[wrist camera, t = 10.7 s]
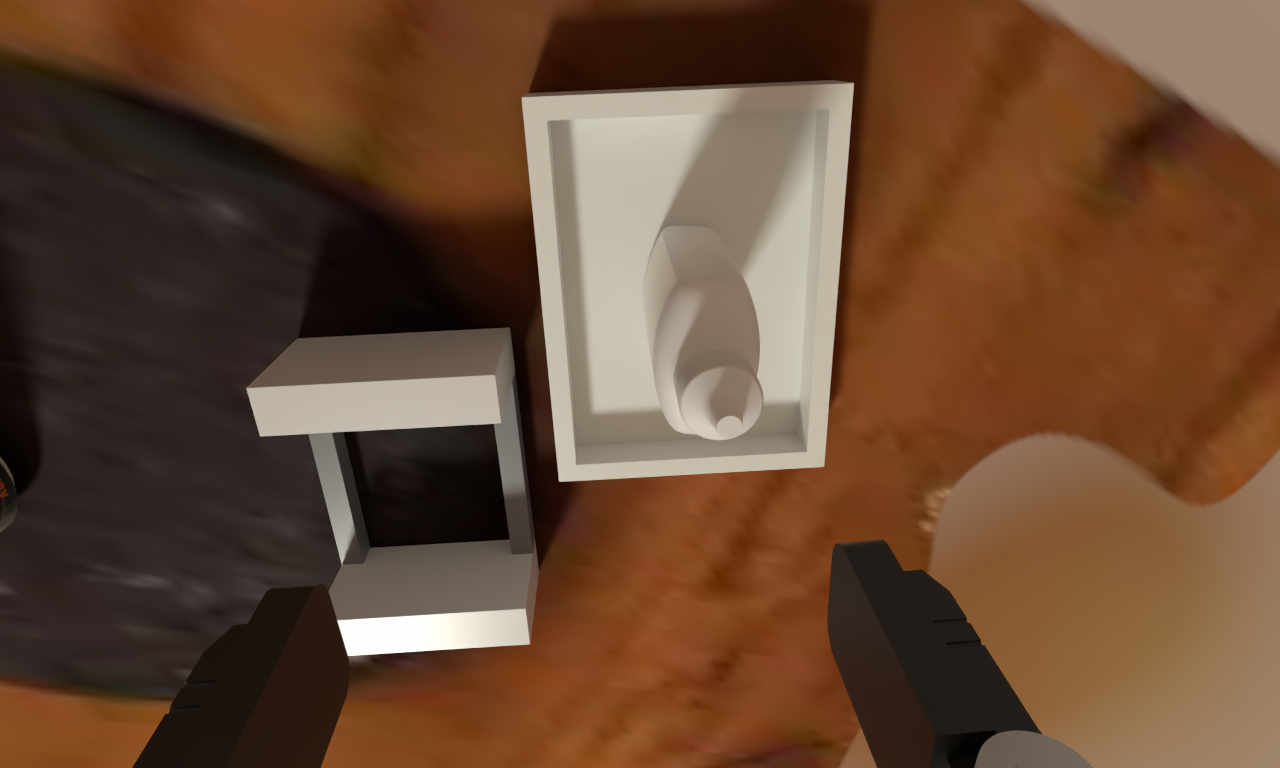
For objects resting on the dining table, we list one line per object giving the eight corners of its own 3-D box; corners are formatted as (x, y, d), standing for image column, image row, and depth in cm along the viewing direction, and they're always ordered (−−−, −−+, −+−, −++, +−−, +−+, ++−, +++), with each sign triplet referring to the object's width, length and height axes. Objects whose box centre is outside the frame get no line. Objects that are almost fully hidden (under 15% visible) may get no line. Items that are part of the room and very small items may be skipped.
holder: (297, 338, 31) (246, 388, 27) (510, 327, 32) (494, 374, 27) (357, 581, 37) (323, 657, 32) (538, 570, 37) (530, 644, 33)
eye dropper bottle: (603, 320, 31) (604, 471, 20) (676, 204, 29) (720, 300, 18) (690, 368, 32) (737, 536, 21) (765, 259, 30) (859, 381, 19)
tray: (528, 93, 28) (521, 97, 26) (833, 79, 28) (854, 82, 26) (561, 452, 34) (559, 481, 32) (809, 439, 35) (823, 466, 32)
